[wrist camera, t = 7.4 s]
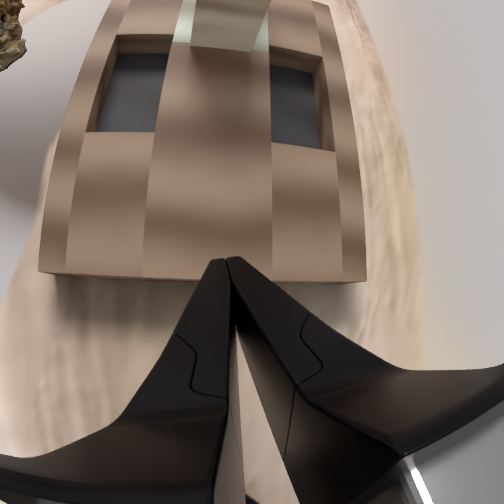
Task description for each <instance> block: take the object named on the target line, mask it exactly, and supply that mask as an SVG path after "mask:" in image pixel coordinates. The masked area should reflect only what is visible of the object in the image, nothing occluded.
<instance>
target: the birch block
mask: <svg viewBox="0 0 504 504" xmlns="http://www.w3.org/2000/svg"><path fill="white" fill-rule="evenodd" d="M270 2H271V0H196V5H195V12H194V18H193V26H192V33H191V41H190V46H199V47H211V48H221V49H229V50H237V51H244V52H251V51H252V49H253V46H254V43H255V41H256V38H257V35H258V33H259V30H260V27H261V25H262V22H263V20H264V17H265V15H266V12H267V10H268V7H269V5H270Z"/></svg>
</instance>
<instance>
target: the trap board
mask: <svg viewBox="0 0 504 504" xmlns="http://www.w3.org/2000/svg"><path fill="white" fill-rule="evenodd" d="M195 5H196V0H112V1H111V3H110V5H109V7H108V9H107V10H106V13H105V15H104V17H103V19H102V21H101V23H100V25H99V27H98V29H97V31H96V33H95V36H94V38H93V40H92V43H91V45H90V47H89V50H88V52H87V54H86V57H85V59H84V62H83V64H82V67H81V70H80V72H79V75H78V78H77V81H76V83H75V86H74V89H73V92H72V95H71V98H70V101H69V104H68V108H67V111H66V114H65V117H64V121H63V124H62V128H61V132H60V135H59V139H58V143H57V147H56V151H55V156H54V160H53V165H52V169H51V174H50V179H49V185H48V190H47V196H46V202H45V209H44V216H43V223H42V232H41V241H40V252H39V265H38V272H43V273H48V274H53V275H65V276H81V277H99V278H118V279H140V280H164V281H193V282H199V281H200V279H201V277H202V275H203V273H204V271H205V269H206V267H207V266H208V264H209V262H210V260H211V259H217V258H225V260H226V258H227V257H232V256H241V257H242V258H243V259H245V260H246V261H247V262H248V263H250V264H251V265H252V266H253V267H255V268H256V269H257V270H258V271H260V272H261V273H262V274H263V275H265V276H266V277H267V278H268V279H270V280H271V281H272V282H273V283H300V284H347V283H356V282H366V281H367V270H366V244H365V226H364V212H363V199H362V188H361V178H360V169H359V160H358V152H357V145H356V137H355V130H354V124H353V117H352V111H351V105H350V99H349V93H348V88H347V83H346V78H345V72H344V68H343V63H342V58H341V54H340V49H339V45H338V40H337V36H336V32H335V28H334V24H333V20H332V16H331V13H330V9H329V6H328V5H325V4H321V3H318V2H314V1H311V0H271V2H270V5H269V7H268V10H267V12H266V15H265V17H264V20H263V22H262V25H261V27H260V30H259V33H258V35H257V38H256V41H255V43H254V46H253V49H252V51H251V52H244V51H237V50H229V49H221V48H211V47H199V46H190V41H191V33H192V26H193V18H194V12H195Z"/></svg>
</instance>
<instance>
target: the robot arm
mask: <svg viewBox="0 0 504 504" xmlns="http://www.w3.org/2000/svg"><path fill="white" fill-rule="evenodd" d="M235 326H236V328H235ZM236 331H237V334H238V337H239V340H240V343H241V346H242V349H243V352H244V355H245V358H246V361H247V364H248V367H249V370H250V372H251V375H252V378H253V381H254V384H255V387H256V390H257V392H258V395H259V398H260V401H261V403H262V406H263V409H264V412H265V414H266V417H267V420H268V423H269V425H270V428H271V431H272V433H273V436H274V439H275V441H276V444H277V447H278V449H279V452H280V455H281V457H282V460H283V462H284V465H285V468H286V470H287V473H288V475H289V478H290V480H291V483H292V486H293V488H294V491H295V493H296V495H297V498H298V500H299V503H300V504H504V363H503V364H501V365H498V366H495V367H490V368H484V369H474V370H473V369H472V370H431V371H429V370H407V369H402V368H399V367H396V366H394V365H392V364H390V363H388V362H386V361H384V360H383V359H381V358H379V357H378V356H376V355H374V354H373V353H371V352H369V351H368V350H366V349H364V348H363V347H361V346H359V345H358V344H356V343H354V342H353V341H351V340H349V339H348V338H346V337H345V336H343V335H342V334H340V333H339V332H337V331H336V330H334V329H333V328H331V327H330V326H328V325H327V324H326V323H324V322H323V321H322V320H320V319H319V318H318V317H317V316H315V315H314V314H313V313H311V312H309V310H307V309H306V308H305V307H304V306H302V305H301V304H300V303H299V302H297V301H296V300H295V299H294V298H292V297H291V296H290V295H288V294H287V293H286V292H285V291H283V290H282V289H281V288H280V287H278V286H277V285H276V284H275V283H273V282H272V281H271V280H270V279H268V278H267V277H266V276H265V275H263V274H262V273H261V272H260V271H258V270H257V269H256V268H255V267H253V266H252V265H251V264H250V263H248V262H247V261H246V260H245V259H243V258H242V257H241V256H232V257H227V258H226V260H225V258H217V259H211V260H210V262H209V264H208V266H207V267H206V269H205V271H204V273H203V275H202V277H201V279H200V281H199V283H198V285H197V287H196V288H195V290H194V292H193V294H192V296H191V298H190V300H189V302H188V304H187V306H186V308H185V310H184V312H183V314H182V316H181V318H180V320H179V322H178V323H177V325H176V327H175V329H174V331H173V334H172V335H171V337H170V339H169V341H168V343H167V345H166V347H165V349H164V350H163V352H162V354H161V356H160V358H159V359H158V361H157V362H156V364H155V365H154V367H153V369H152V370H151V372H150V373H149V375H148V376H147V378H146V379H145V380H144V382H143V383H142V385H141V386H140V388H139V389H138V391H137V392H136V394H135V395H134V397H133V398H132V399H131V401H130V402H129V404H128V405H127V407H126V408H125V410H124V411H123V412H122V414H121V415H120V416H119V417H118V418H117V419H116V420H115V421H114V422H113V423H111V424H110V425H109V426H107V427H105V428H103V429H101V430H99V431H97V432H95V433H92V434H90V435H88V436H86V437H84V438H82V439H79V440H77V441H75V442H73V443H71V444H68V445H66V446H64V447H61V448H59V449H57V450H54V451H52V452H50V453H47V454H44V455H41V456H36V457H29V458H19V457H13V456H8V455H3V454H0V500H2V501H4V502H5V503H7V504H259V503H258V502H256V501H255V500H254V499H252V498H251V497H249V496H248V495H247V494H245V486H244V471H243V455H242V439H241V421H240V403H239V384H238V363H237V341H236Z"/></svg>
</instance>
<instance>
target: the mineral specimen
mask: <svg viewBox="0 0 504 504" xmlns="http://www.w3.org/2000/svg"><path fill="white" fill-rule="evenodd" d="M24 7H25V6H24V5H23V4H22V0H0V72H1V71H3V70H5V69H7V68H8V67H9V66H10V65H11V64H12V63H13V62H15V61H16V60H18V59H19V58H21V57H22V56H23V55H24V54H25V53H26V51H27V50H26V47H25V41H26V40H25V39H22V40H21V34H22V27H21V26H20V25H19V24H20V23H19V21H18V16H19V13H20V10H21V8H24Z"/></svg>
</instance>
